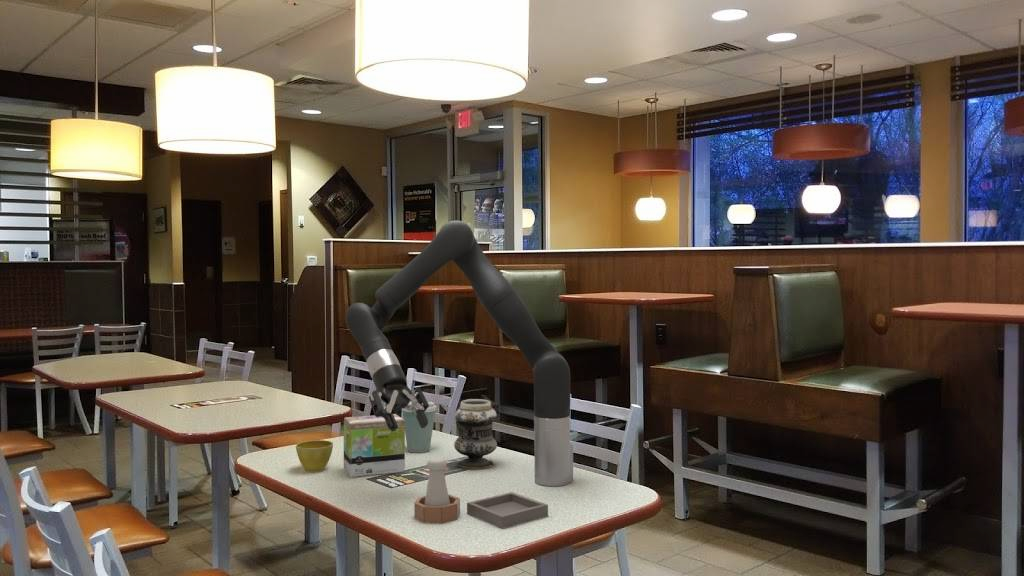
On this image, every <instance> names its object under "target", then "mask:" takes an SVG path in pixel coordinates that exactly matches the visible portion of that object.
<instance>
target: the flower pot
mask: <svg viewBox="0 0 1024 576" xmlns="http://www.w3.org/2000/svg"><path fill="white" fill-rule="evenodd" d="M333 447H334V442H332V441H330V440H325V439H322V440H321V439H316V440H315V439H314V440H305V441H302V442H298V443H296V444H295V450H296V454H297V458H298V460H299V462H300V465H301V467H302V468H303V469H304V471H305V472H309V473H318V472H321V471H324V470H325V469H326V467H327V465H328V463H329V462H330V459H331V455H332V453H333Z"/></svg>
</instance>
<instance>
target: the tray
mask: <svg viewBox="0 0 1024 576" xmlns="http://www.w3.org/2000/svg"><path fill="white" fill-rule="evenodd" d="M466 514H467V515H469V516H470V517H474V518H477V519H479V520H481V521H484V522H486V523H488V524H491V525H493V526H495V527H498V528H500V529H506V528H509V527H512V526H516V525H520V524H524V523H528V522H531V521H534V520H538V519H541V518H542V519H543V518H545V517H548V516H549V504H547V503H544V502H541V501H538V500H535V499H533V498H530V497H528V496H524V495H521V494H519V493H516V492H513V491H509V492H505V493H501V494H498V495H494V496H489V497H486V498H482V499H477V500H473V501H468V502H466Z"/></svg>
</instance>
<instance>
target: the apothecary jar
mask: <svg viewBox="0 0 1024 576" xmlns="http://www.w3.org/2000/svg"><path fill="white" fill-rule="evenodd" d="M491 403H492V402H491V400H488V399H483V398H482V399H481V398H480V399H479V398H468V399H465V400H464V399H463V400H461V402H460V404H459V405H460V406H459V408H458V409H457V410H456V411H455V413H454V418H455V420H456V422H458V437H457V438H456V439H455V441H454V443H453V446H454V449H455V450H456V452H457V453H459V454H461V455H462V456H466V457H467V458H465V459H462V460H461V461H459V462H458V463H457V464H458V466H459V468H462V469H467V470H468V469H469V470H483V469H487V468H491V467H492V466H493V465H494V462H493V461H492V460H490V459H488V458H485V457H484V456H488V455H491V454H492V453H493V452H495V450H496V449H497V447H498V443H497V441H496V439H495V438H494V437H493V422H494V421H495V420H496V419H497V412H496V410H495V409H494V408H493V407H492V404H491Z"/></svg>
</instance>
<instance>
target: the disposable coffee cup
mask: <svg viewBox="0 0 1024 576" xmlns="http://www.w3.org/2000/svg"><path fill="white" fill-rule="evenodd" d="M427 402H428V404H429V407H428V408H427V409H426V411H425V412H424V413H425V415H426V417H427V419H428V424H427V426H426V427H425V428H421V427H420V424H419V422H418V420H417V418H416V414H414V413H413V412H412V411H408V410H407V409H406V408H401V410H402V419H404V420H405V443H406V448H407V451H408V452H409V453H418V454H420V453H426V452H428V451H429V450H430V448H431V443H432V437H433V431H434V423H435V417H436V412H437V405H436V403H435V402H431V401H427ZM411 404H412V402H411V401H410V402H409V405H411ZM422 404H423V403H422ZM414 407H415V406H414ZM415 408H416V407H415ZM416 409H418V408H416Z"/></svg>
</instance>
